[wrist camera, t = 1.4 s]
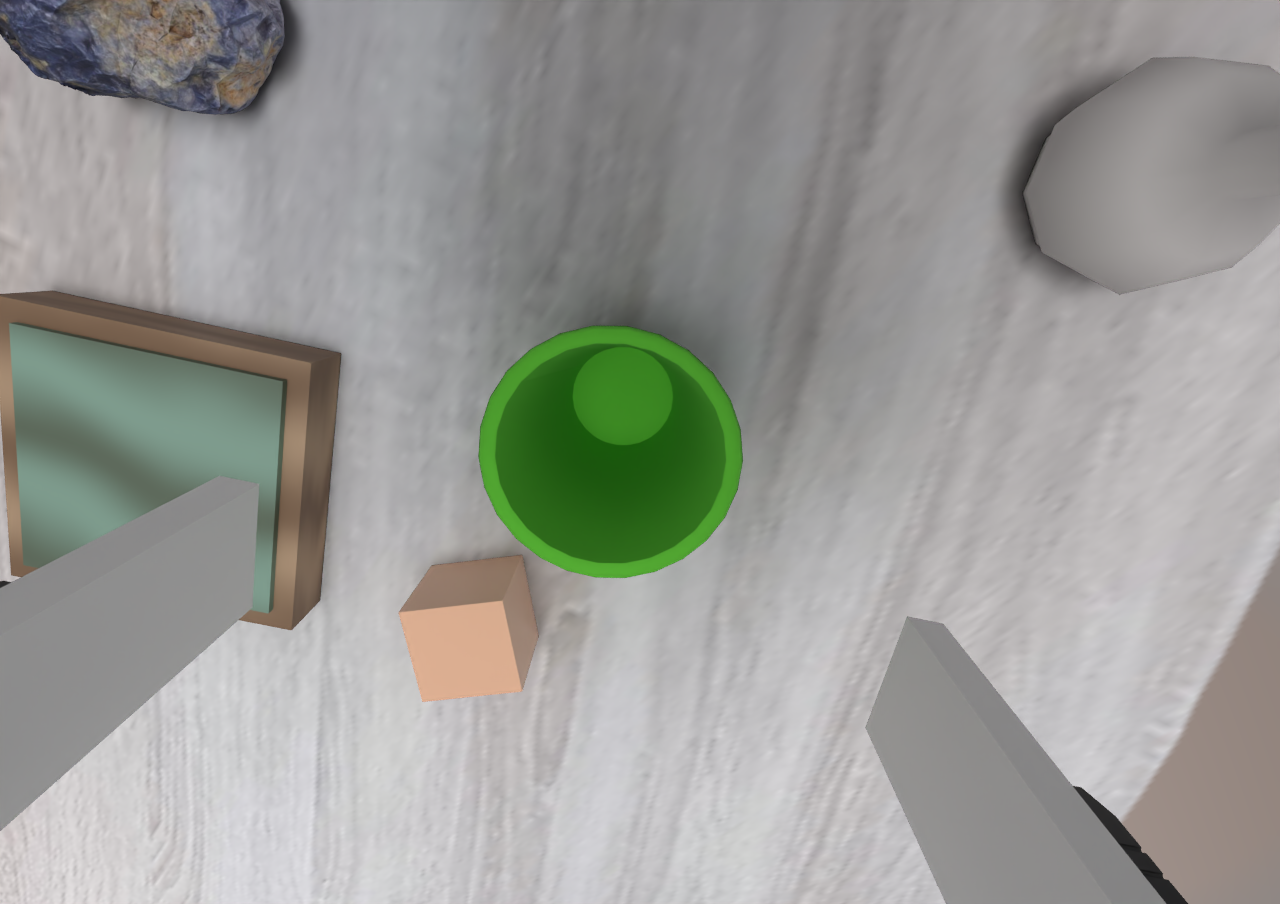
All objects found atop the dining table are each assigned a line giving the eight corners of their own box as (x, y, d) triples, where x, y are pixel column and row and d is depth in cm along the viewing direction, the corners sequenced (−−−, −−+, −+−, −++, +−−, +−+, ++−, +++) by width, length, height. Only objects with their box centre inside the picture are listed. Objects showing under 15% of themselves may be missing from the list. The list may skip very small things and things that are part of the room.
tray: (52, 290, 32) (-16, 295, 29) (341, 353, 33) (306, 364, 29) (62, 549, 36) (3, 579, 33) (319, 600, 37) (287, 634, 33)
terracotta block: (432, 564, 36) (398, 612, 31) (522, 554, 36) (502, 600, 31) (451, 644, 37) (422, 701, 33) (538, 634, 37) (522, 691, 32)
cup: (631, 513, 35) (622, 626, 24) (496, 400, 33) (423, 468, 23) (752, 388, 33) (799, 453, 22) (614, 260, 31) (595, 265, 21)
